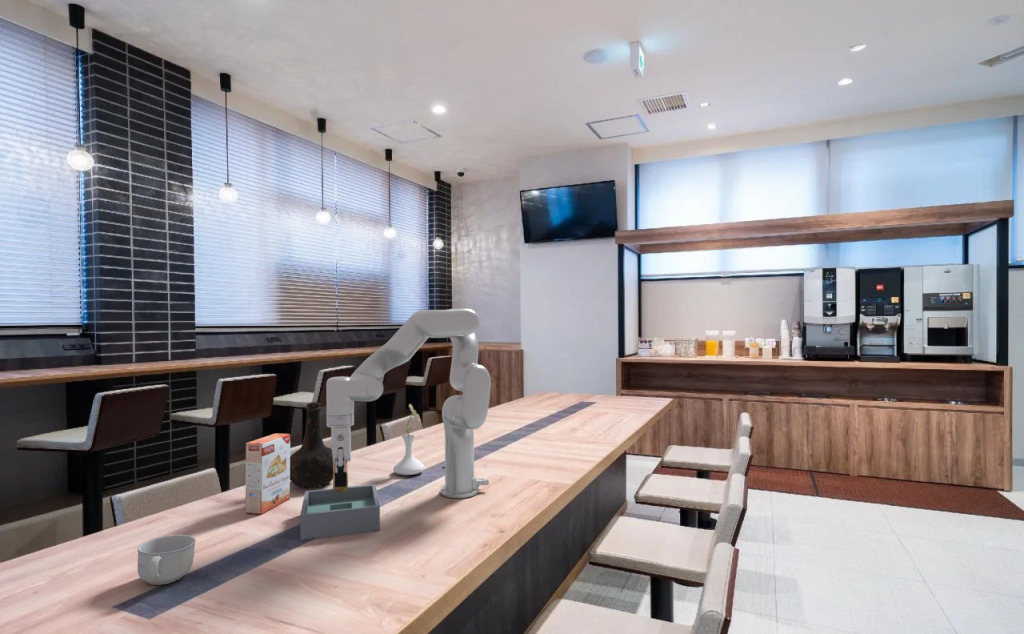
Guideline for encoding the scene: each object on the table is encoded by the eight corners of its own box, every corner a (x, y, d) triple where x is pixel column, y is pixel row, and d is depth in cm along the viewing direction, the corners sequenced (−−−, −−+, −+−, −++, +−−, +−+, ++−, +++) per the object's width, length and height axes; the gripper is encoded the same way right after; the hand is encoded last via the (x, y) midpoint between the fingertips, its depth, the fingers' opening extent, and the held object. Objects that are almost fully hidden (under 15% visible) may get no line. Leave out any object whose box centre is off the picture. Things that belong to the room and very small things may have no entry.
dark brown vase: (296, 496, 174) (296, 409, 174) (278, 483, 187) (277, 402, 187) (349, 484, 186) (348, 403, 185) (328, 473, 199) (328, 397, 199)
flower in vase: (421, 477, 193) (420, 407, 192) (389, 477, 193) (389, 407, 193) (427, 467, 206) (427, 402, 206) (398, 467, 206) (397, 402, 206)
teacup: (155, 568, 124) (155, 533, 124) (204, 566, 125) (204, 531, 125) (116, 599, 110) (116, 560, 110) (172, 597, 111) (171, 558, 111)
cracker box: (262, 515, 157) (262, 443, 157) (244, 513, 158) (244, 442, 158) (291, 499, 171) (291, 433, 171) (274, 498, 172) (274, 432, 172)
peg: (347, 487, 157) (347, 453, 157) (347, 491, 153) (347, 456, 153) (333, 489, 156) (333, 454, 156) (333, 493, 152) (332, 457, 152)
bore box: (375, 505, 164) (375, 484, 164) (380, 530, 145) (379, 506, 145) (305, 513, 158) (305, 491, 158) (300, 540, 139) (300, 515, 139)
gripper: (354, 424, 148) (354, 491, 148) (353, 414, 164) (353, 474, 164) (325, 426, 146) (326, 494, 146) (327, 415, 162) (327, 476, 162)
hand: (340, 483), depth 155 cm, fingers closed on peg, 4 cm apart
